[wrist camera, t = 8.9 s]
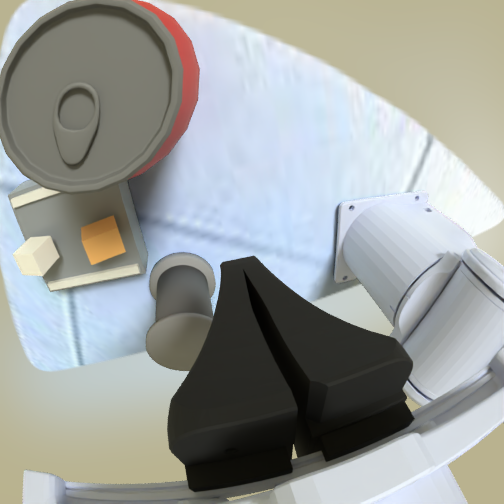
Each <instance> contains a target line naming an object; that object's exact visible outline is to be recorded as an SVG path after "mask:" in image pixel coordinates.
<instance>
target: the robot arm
mask: <svg viewBox="0 0 504 504" xmlns="http://www.w3.org/2000/svg"><path fill="white" fill-rule="evenodd" d="M416 196H417V197H416ZM415 197H416V198H415ZM427 201H428V193H427V192H426V191H416V192H409V193H401V194H394V195H387V196H380V197H373V198H366V199H359V200H352V201H346V202H342V203H341V204H340V206H339V213H338V231H337V246H336V259H335V271H334V280H335V282H336V283H343V282H346V281H350V280H354V279H358V280H359V281H360V282H361V284H362V285H363V286H364V288H365V289H366V290H367V292H368V293H369V294H370V296H371V297H372V298H373V300H374V301H375V302H376V304H377V305H378V306H379V308H380V309H381V310H382V312H383V313H384V314H385V316H386V317H387V319H388V320H389V321H390V323H391V324H392V326H393V327H394V329H393V332H392V333H391V334H390V336H386V335H382V334H379V333H375V332H371V331H368V330H366V329H363V328H360V327H357V326H355V325H352V324H350V323H347V322H345V321H343V320H341V319H339V318H337V317H334V316H332V315H330V314H328V313H326V312H324V311H323V310H321V309H319V308H318V307H316V306H314V305H313V304H311V303H310V302H308V301H306V300H305V299H304V298H302V297H301V296H299V295H298V294H297V293H295V292H294V291H293V290H291V289H290V288H289V287H288V286H286V285H285V284H284V283H283V282H282V281H280V280H279V279H278V278H277V277H276V276H275V275H274V274H272V273H271V272H270V271H269V270H268V269H267V268H266V267H265V266H264V265H263V264H262V263H261V262H260V261H259V260H258V259H257V258H256V257H255V256H250V257H245V258H241V259H236V260H231V261H226V262H222V264H221V265H220V268H221V282H220V290H219V296H218V301H217V305H216V309H215V313H214V317H213V320H212V323H211V326H210V329H209V332H208V334H207V337H206V339H205V342H204V344H203V346H202V349H201V351H200V353H199V355H198V357H197V359H196V361H195V362H194V364H193V366H192V368H191V370H190V372H189V374H188V375H187V377H186V378H185V380H184V381H183V383H182V384H181V386H180V387H179V389H178V390H177V392H176V393H175V395H174V396H173V398H172V399H171V403H170V408H169V415H168V428H167V430H168V441H169V449H170V450H171V452H172V453H173V454H174V455H175V456H176V457H177V458H178V459H179V460H180V461H181V462H182V463H183V464H184V465H185V469H186V475H187V480H186V481H178V482H177V481H176V482H165V483H148V484H95V483H79V482H67V481H64V480H63V479H61V478H60V477H58V476H56V475H53V474H50V473H45V472H38V471H32V470H24V478H23V504H468V503H467V501H466V499H465V497H464V495H463V493H462V492H461V489H460V488H459V486H458V484H457V482H456V480H455V478H454V476H453V475H452V472H451V471H450V469H449V467H448V464H449V463H451V462H452V461H454V460H455V459H457V458H458V457H460V456H461V455H462V454H464V453H465V452H466V451H468V450H469V449H470V448H472V447H473V446H474V445H475V444H477V443H478V442H479V441H481V440H482V439H483V438H485V437H486V436H487V435H488V434H489V433H491V432H492V431H493V430H494V429H495V428H496V427H498V426H499V425H500V424H501V423H502V422H503V423H504V266H503V265H502V264H500V263H499V262H498V261H496V260H495V259H494V258H493V257H491V256H490V255H489V254H487V253H485V252H484V251H483V250H481V249H479V248H477V246H476V244H475V242H474V240H473V238H472V237H471V235H470V234H469V233H468V232H467V231H466V230H465V229H463V228H462V227H461V226H459V225H458V224H457V223H455V222H454V221H453V220H451V219H450V218H449V217H447V216H446V215H445V214H443V213H442V212H440V211H439V210H438V209H436V208H435V207H433V206H432V205H430V204H429V203H427ZM351 205H352V208H351V209H349V207H350V206H351ZM344 276H345V277H344ZM343 277H344V278H343ZM406 395H407V396H408V397H409V398H410V399H411V400H412V401H414V402H415V403H417V404H418V405H420V406H422V407H420V408H418V409H417V410H415V411H413V412H411V411H410V410H409V408H408V406H407V405H406V403H405V401H406V399H407V396H406ZM293 444H294V447H295V450H296V454H297V457H298V458H296V459H292V450H293ZM273 488H274V489H273ZM268 489H273V490H270V491H267V492H263V493H260V494H256V495H252V496H249V497H245V498H241V499H237V500H233V501H229V500H227V499H226V498H229V497H235V496H241V495H246V494H251V493H255V492H260V491H264V490H268Z"/></svg>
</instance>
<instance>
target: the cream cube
mask: <svg viewBox="0 0 504 504" xmlns="http://www.w3.org/2000/svg"><path fill="white" fill-rule="evenodd" d="M13 256H14V258H15V260H16V262H17V265H18V267H19V268H20V270H21V272H22V274H23V275H34V276H43V275H44V274H45V273H46V272H47V271H48V269H49V268H50V267H51V266H52V265H53V264H54V263H55V261H56V260H57V259H58V258H59V255H58V252H57V250H56V248H55V245H54V243H53V241H52V238H51V236H40V237H30V238H29V239H28V240H27V241H26V242H25V243H24V244H23V245H22V246H21V247H20V248H19V249H17V250H16V251H15V252H14V254H13Z"/></svg>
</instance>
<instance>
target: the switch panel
mask: <svg viewBox="0 0 504 504" xmlns="http://www.w3.org/2000/svg"><path fill="white" fill-rule="evenodd" d="M8 197H9V200H10V203H11V206H12V208H13V211H14V214H15V216H16V219H17V221H18V224H19V226H20V229H21V231H22V234H23V236H24V238H25V241H27V240H28V239H29V238H30V237H40V236H51V238H52V241H53V243H54V245H55V248H56V250H57V252H58V255H59V258H58V259H57V260H56V261H55V263H54V264H53V265H52V266H51V267H50V268H49V269H48V271H47V272H46V273H45V274H44V275H43V276H42V277H43V279H44V280H45V282H46V284H47V286H48V288H49V290H50V292H53V291H58V290H63V289H68V288H73V287H78V286H83V285H89V284H94V283H99V282H104V281H109V280H114V279H119V278H124V277H129V276H135V275H140V274H145V273H146V267H147V259H148V252H147V249H146V245H145V242H144V239H143V235H142V232H141V229H140V225H139V222H138V218H137V215H136V211H135V208H134V204H133V200H132V197H131V193H130V189H129V185H128V181H125V182H122V183H120V184H117V185H115V186H112V187H110V188H108V189H105V190H103V191H100V192H94V193H83V194H73V195H70V194H66V193H62V192H58V191H53V190H49V189H45V188H43V187H42V186H40V185H39V184H37V183H35V182H34V181H32V180H31V179H30V180H27V181H25V182H23V183H21V184H20V185H19V186H18V187H17V188H16V189H14V190H13V191H12V192H11V193H10V194H9V195H8ZM113 215H114V218H115V221H116V224H117V227H118V230H119V233H120V236H121V239H122V242H123V245H124V248H125V251H126V252H124V253H122V254H119V255H117V256H114V257H111V258H109V259H106V260H104V261H101V262H99V263H96V264H94V265H91V263H90V261H89V258H88V256H87V253H86V251H85V248H84V246H83V243H82V238H81V227H84V226H86V225H89V224H92V223H94V222H97V221H99V220H102V219H105V218H107V217H110V216H113Z"/></svg>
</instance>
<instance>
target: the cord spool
mask: <svg viewBox="0 0 504 504" xmlns="http://www.w3.org/2000/svg"><path fill="white" fill-rule="evenodd" d="M215 285H216V283H215V277H214V272H213V270H212V267H211V266H210V264H209V263H208V262H207V261H206V260H204V259H203V258H201V257H200V256H198V255H195V254H192V253H185V252H180V253H173V254H170V255H167V256H165V257H163V258H162V259H160V260H159V261H158V262H157V263H156V264H155V265H154V267H153V269H152V271H151V275H150V291H151V294H152V296H153V297H154V299H155V300H156V322H155V323H154V324H153V325H152V326H151V327H150V329H149V330H148V332H147V335H146V350H147V352H148V354H149V356H150V357H151V358H152V359H153V360H154V361H155V362H156V363H158V364H160V365H162V366H164V367H166V368H169V369H173V370H179V371H190V370H191V368H192V366H193V364H194V362H195V361H196V359H197V357H198V355H199V353H200V351H201V349H202V346H203V344H204V342H205V339H206V337H207V334H208V332H209V329H210V326H211V323H212V320H213V311H212V305H211V299H210V298H211V297H212V295H213V293H214V291H215Z"/></svg>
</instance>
